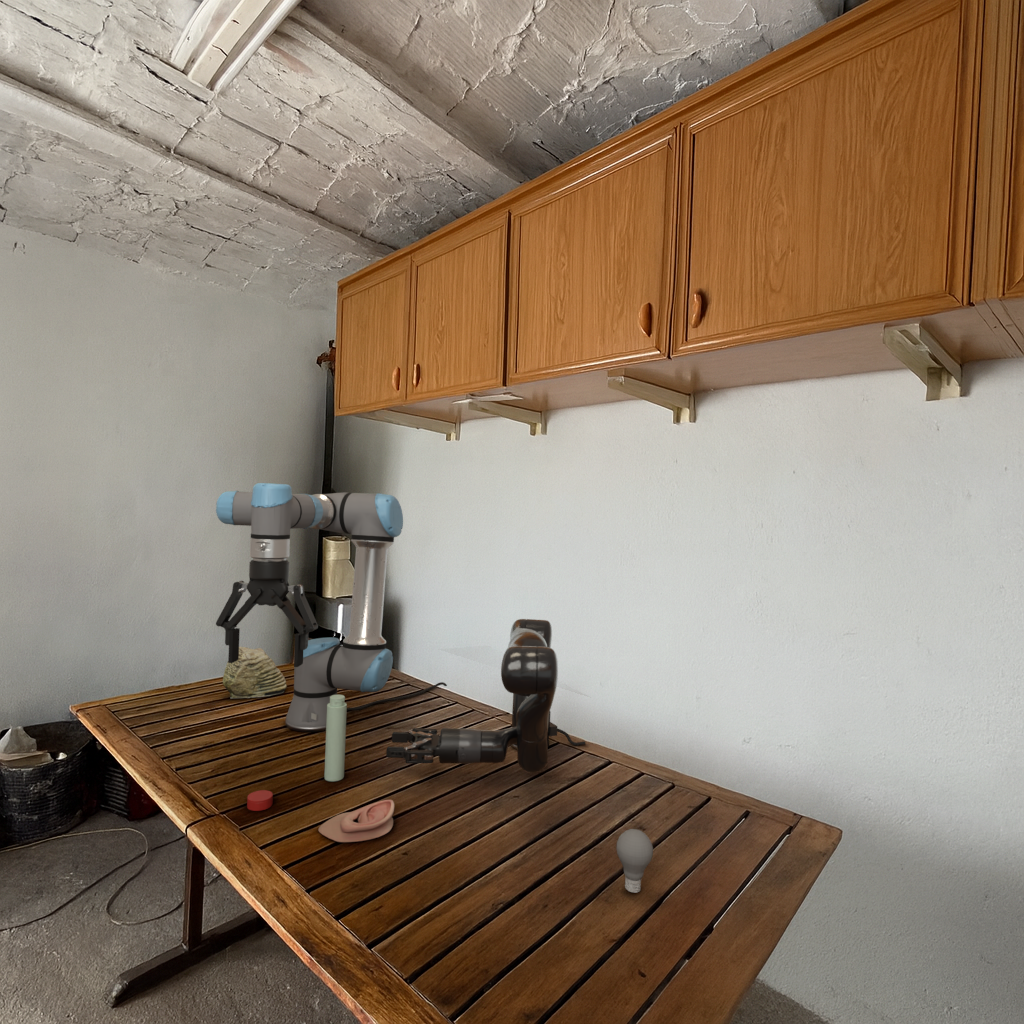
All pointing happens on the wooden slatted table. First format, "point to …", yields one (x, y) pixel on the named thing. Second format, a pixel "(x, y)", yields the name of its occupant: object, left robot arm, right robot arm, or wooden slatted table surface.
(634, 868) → the light bulb
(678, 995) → the wooden slatted table surface
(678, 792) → the wooden slatted table surface
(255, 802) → the lid
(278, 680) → the fossil
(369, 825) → the anatomical model
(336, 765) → the pale green slim bottle
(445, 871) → the wooden slatted table surface
